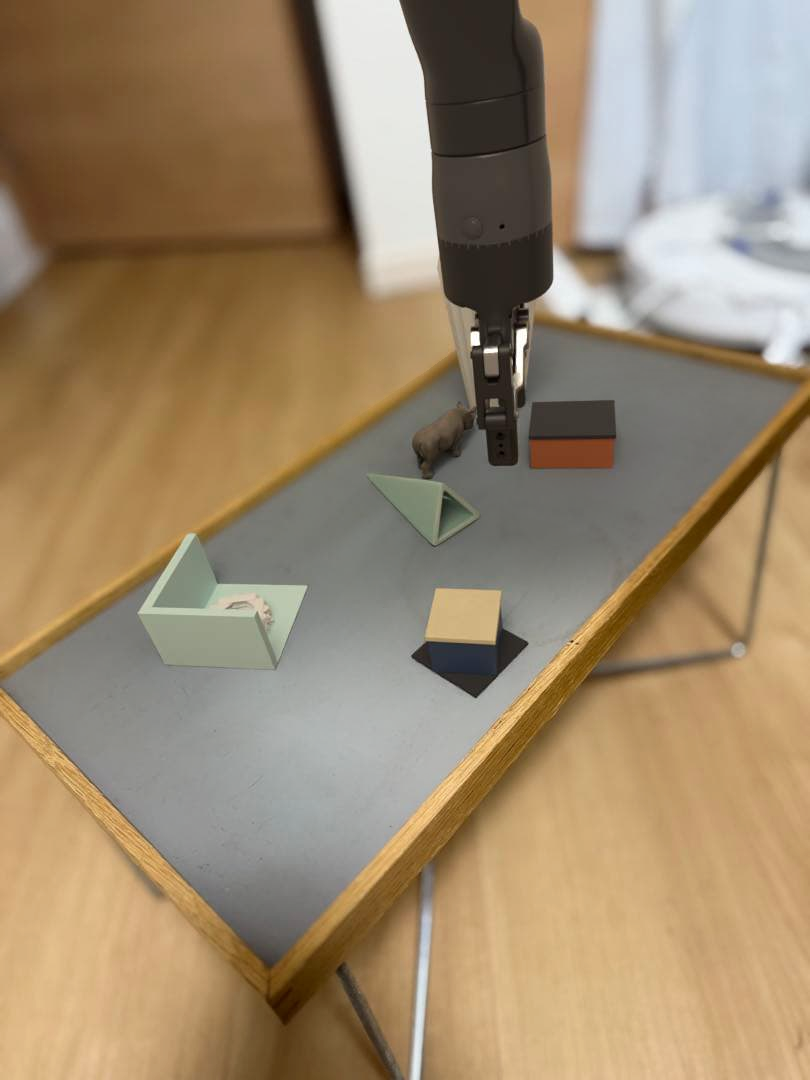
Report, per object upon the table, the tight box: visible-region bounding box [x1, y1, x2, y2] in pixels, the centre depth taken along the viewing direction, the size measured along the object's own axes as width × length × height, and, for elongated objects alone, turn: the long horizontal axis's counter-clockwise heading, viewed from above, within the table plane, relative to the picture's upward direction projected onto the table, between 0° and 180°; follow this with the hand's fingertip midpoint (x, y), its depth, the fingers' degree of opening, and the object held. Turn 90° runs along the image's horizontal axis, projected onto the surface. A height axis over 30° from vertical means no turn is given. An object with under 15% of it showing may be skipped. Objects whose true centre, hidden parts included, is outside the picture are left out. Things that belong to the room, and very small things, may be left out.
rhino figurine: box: [411, 400, 477, 479], centre depth 93 cm, size 4×14×6 cm, turn 141°
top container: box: [424, 587, 503, 676], centre depth 66 cm, size 6×6×5 cm
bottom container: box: [527, 399, 617, 469], centre depth 90 cm, size 10×8×5 cm
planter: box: [366, 473, 481, 547], centre depth 86 cm, size 8×6×18 cm
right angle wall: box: [137, 532, 309, 671], centre depth 73 cm, size 12×12×8 cm
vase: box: [436, 254, 537, 414], centre depth 95 cm, size 13×13×26 cm
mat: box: [410, 627, 529, 699], centre depth 67 cm, size 8×8×1 cm
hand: (508, 433), depth 56 cm, fingers open, 8 cm apart
